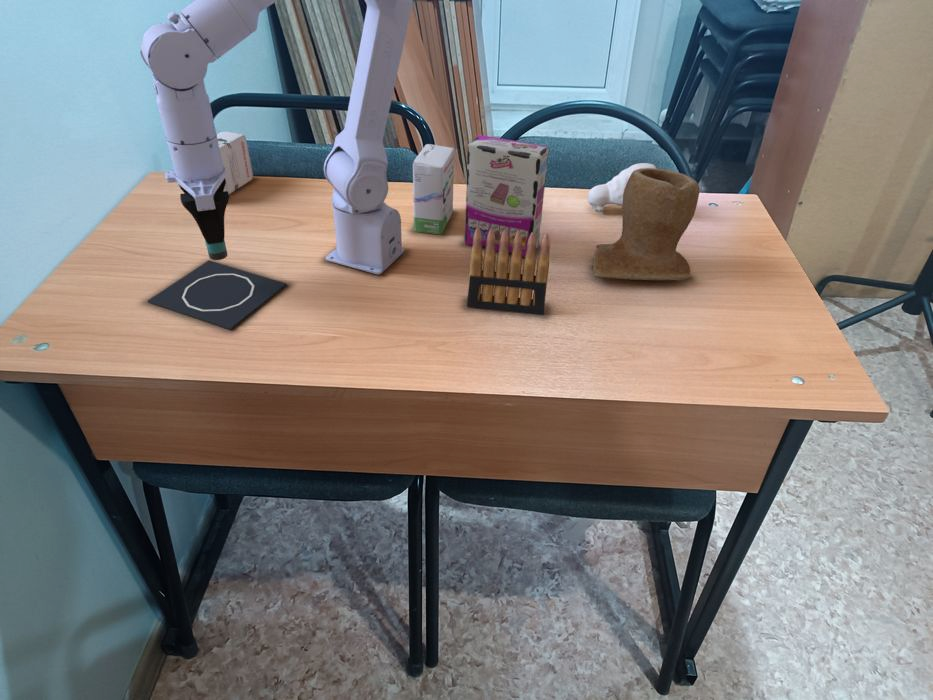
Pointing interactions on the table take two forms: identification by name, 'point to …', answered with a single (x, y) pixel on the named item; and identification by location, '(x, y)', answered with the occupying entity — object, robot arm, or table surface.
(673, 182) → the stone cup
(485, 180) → the candy bar box
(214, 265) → the mat
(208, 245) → the marker
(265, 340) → the table surface
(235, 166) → the ink box
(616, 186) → the white rounded piece
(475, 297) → the ammunition clip
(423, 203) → the ink box
